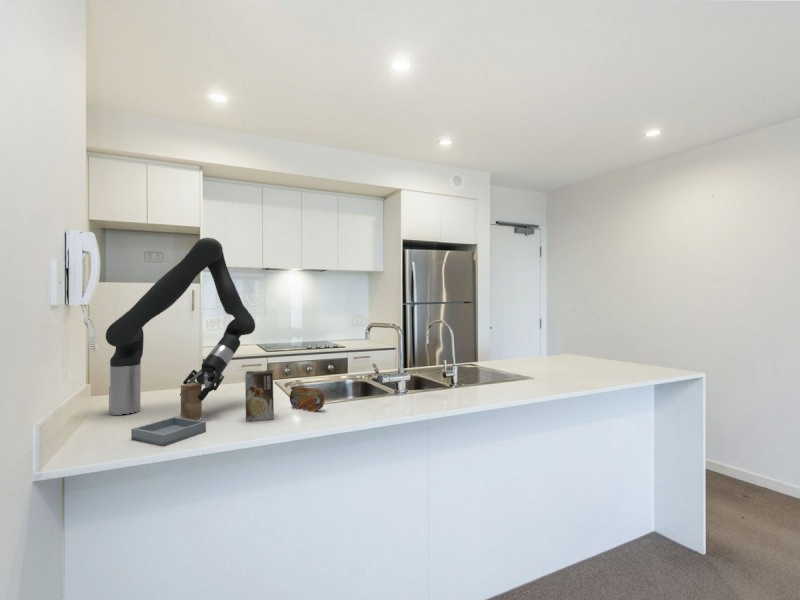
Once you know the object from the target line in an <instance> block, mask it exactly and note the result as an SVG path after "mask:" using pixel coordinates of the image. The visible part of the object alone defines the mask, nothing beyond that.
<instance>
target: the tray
mask: <svg viewBox="0 0 800 600" xmlns="http://www.w3.org/2000/svg"><path fill="white" fill-rule="evenodd" d="M130 430H131V434H130V435H131V436H130V437H131V440H133V441H138V442H143V443H148V444H152V445H156V446H160V447H161V446H162V447H165V446H166V447H167V446H169V445H171V444H175V443H177V442H180V441H183V440H186V439H188V438H191V437H195V436H196V435H199V434H200V435H201V434H203V433H206V432H207V421H203V420H192V419H186V418H181V416H179V417H178V416H172V417H169V418H166V419H161V420H159V421H155V422H151V423H148V424H144V425H141V426H138V427H134V428H131V429H130Z"/></svg>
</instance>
